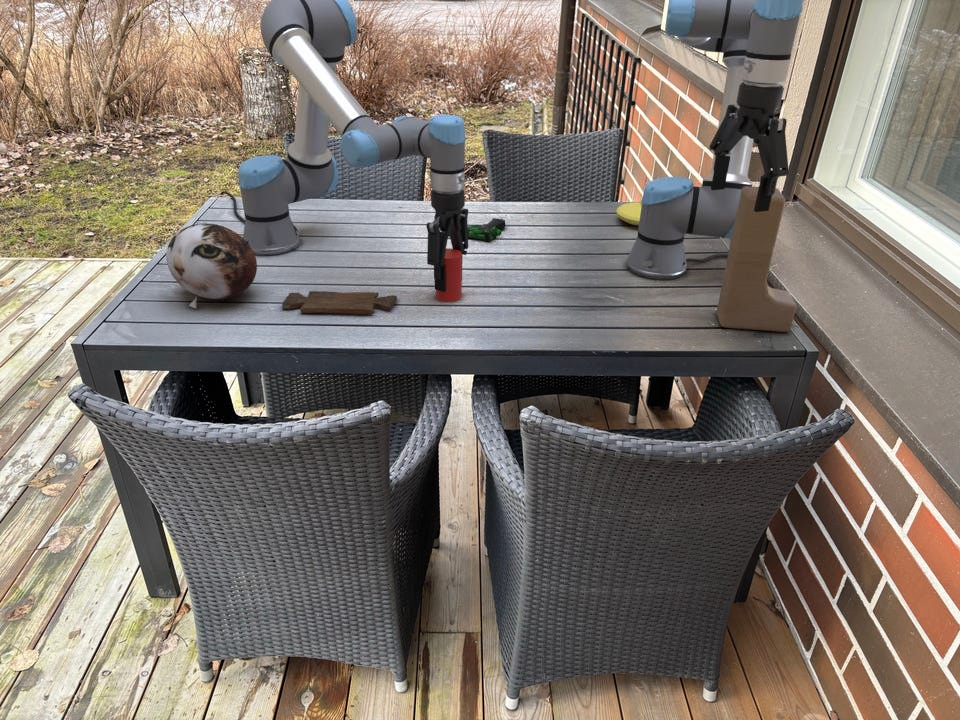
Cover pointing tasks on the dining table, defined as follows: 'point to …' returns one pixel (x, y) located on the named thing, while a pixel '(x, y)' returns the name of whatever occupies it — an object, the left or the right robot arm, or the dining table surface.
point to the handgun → (486, 230)
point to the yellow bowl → (630, 212)
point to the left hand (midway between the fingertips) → (448, 284)
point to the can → (452, 276)
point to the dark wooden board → (338, 302)
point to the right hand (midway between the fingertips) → (738, 199)
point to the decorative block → (754, 270)
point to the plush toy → (211, 261)
